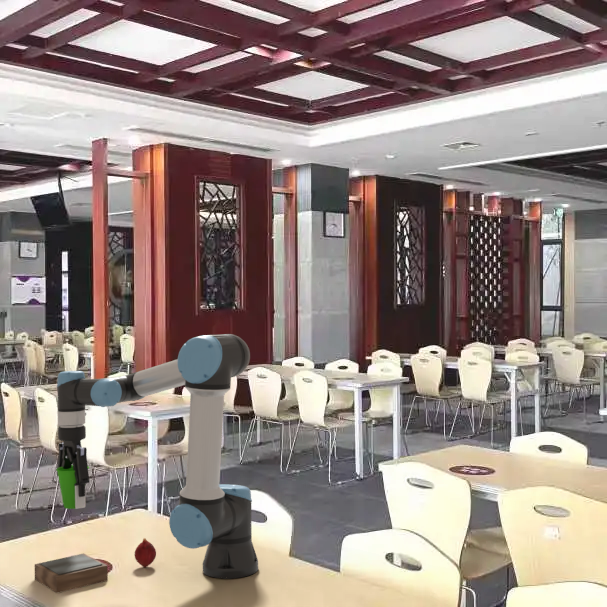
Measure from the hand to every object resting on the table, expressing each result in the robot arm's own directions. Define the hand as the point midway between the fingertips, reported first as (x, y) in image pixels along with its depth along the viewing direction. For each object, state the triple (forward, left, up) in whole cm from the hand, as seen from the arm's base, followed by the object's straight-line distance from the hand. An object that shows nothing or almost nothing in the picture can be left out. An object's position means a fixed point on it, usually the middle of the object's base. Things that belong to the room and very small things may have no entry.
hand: (73, 504), depth 234 cm
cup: (0, 0, -1) cm, 1 cm away
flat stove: (-14, +7, -16) cm, 23 cm away
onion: (-18, -13, -16) cm, 28 cm away
